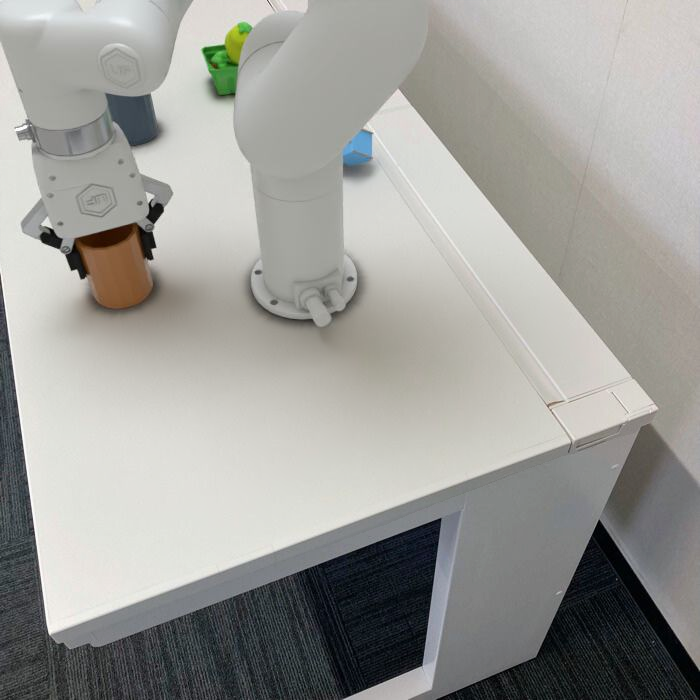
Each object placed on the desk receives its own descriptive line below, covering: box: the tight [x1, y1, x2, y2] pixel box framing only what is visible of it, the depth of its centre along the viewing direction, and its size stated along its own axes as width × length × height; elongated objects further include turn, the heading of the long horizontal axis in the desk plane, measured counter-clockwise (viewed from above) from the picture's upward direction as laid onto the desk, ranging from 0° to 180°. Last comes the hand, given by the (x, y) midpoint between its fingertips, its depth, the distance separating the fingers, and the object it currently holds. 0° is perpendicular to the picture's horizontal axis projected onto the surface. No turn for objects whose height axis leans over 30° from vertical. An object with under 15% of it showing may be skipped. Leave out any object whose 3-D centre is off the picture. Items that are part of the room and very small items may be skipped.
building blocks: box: [343, 128, 374, 167], centre depth 107 cm, size 8×8×12 cm
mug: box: [105, 92, 159, 146], centre depth 111 cm, size 10×7×8 cm
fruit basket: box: [200, 21, 254, 96], centre depth 118 cm, size 11×9×11 cm
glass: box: [74, 222, 154, 310], centre depth 88 cm, size 7×7×9 cm
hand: (115, 261), depth 89 cm, fingers closed on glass, 7 cm apart
